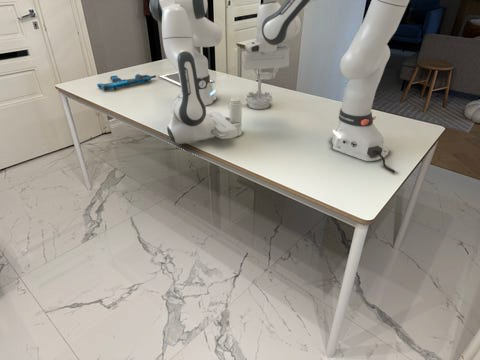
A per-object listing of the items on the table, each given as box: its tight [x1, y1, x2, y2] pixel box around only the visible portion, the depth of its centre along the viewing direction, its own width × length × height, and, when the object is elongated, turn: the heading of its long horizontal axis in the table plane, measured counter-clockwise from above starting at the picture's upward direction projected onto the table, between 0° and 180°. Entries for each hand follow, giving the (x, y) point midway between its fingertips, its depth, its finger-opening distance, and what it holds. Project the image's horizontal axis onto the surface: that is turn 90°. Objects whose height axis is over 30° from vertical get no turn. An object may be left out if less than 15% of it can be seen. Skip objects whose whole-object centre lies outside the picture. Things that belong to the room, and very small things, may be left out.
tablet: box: [158, 71, 215, 87], centre depth 214 cm, size 32×20×1 cm, turn 41°
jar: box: [228, 97, 243, 137], centre depth 143 cm, size 5×5×16 cm
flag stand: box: [245, 69, 273, 110], centre depth 168 cm, size 13×13×30 cm
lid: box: [259, 71, 273, 81], centre depth 148 cm, size 6×6×2 cm
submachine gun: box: [96, 73, 157, 91], centre depth 207 cm, size 34×4×25 cm
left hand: (237, 121), depth 145 cm, fingers closed on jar, 5 cm apart
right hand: (265, 78), depth 148 cm, fingers closed on lid, 5 cm apart
